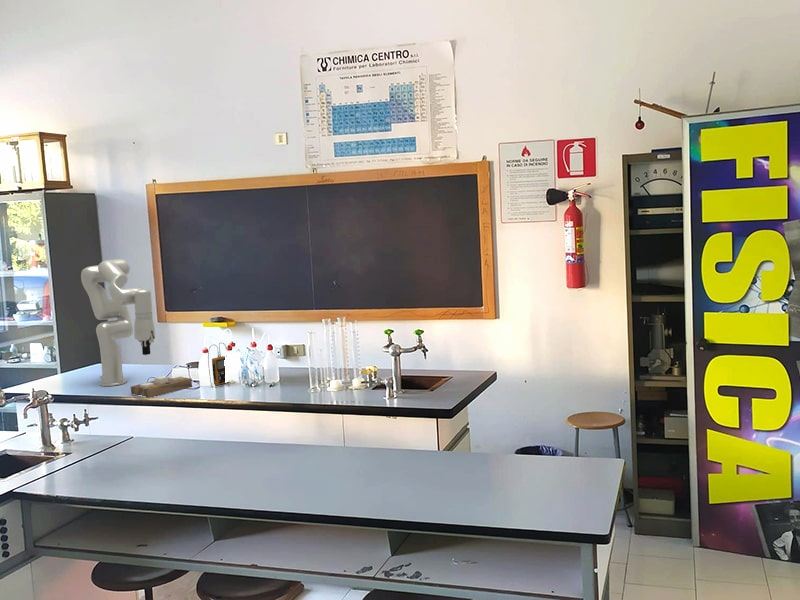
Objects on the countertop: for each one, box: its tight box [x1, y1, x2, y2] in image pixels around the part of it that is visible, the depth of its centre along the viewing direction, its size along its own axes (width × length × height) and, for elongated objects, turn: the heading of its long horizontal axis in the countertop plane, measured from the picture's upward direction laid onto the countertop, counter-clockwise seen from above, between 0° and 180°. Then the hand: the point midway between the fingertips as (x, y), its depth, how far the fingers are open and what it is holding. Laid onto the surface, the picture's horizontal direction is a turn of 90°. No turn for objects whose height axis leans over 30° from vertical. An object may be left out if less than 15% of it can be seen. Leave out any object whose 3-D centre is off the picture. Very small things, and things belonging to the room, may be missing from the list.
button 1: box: [140, 382, 154, 388], centre depth 353 cm, size 4×4×5 cm
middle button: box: [153, 375, 169, 384], centre depth 359 cm, size 4×4×5 cm
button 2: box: [167, 375, 183, 380], centre depth 366 cm, size 4×4×5 cm
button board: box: [130, 375, 193, 398], centre depth 359 cm, size 14×24×4 cm, turn 145°
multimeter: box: [207, 342, 230, 388], centre depth 365 cm, size 15×10×20 cm
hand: (146, 354), depth 357 cm, fingers closed
